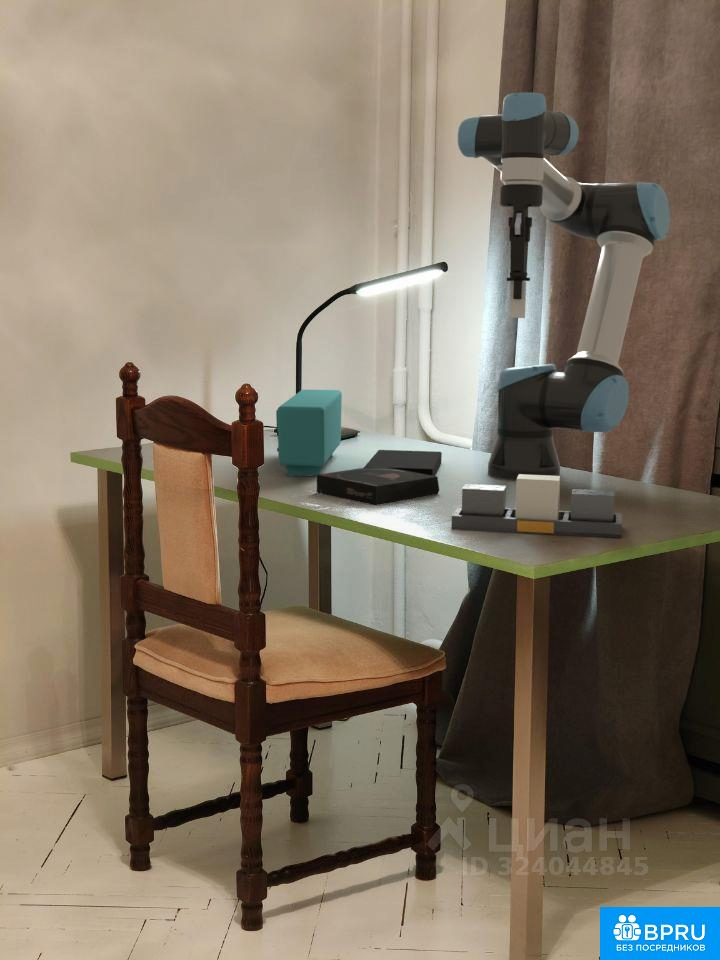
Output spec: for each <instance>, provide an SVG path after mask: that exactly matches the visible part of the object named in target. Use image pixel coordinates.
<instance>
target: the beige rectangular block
mask: <svg viewBox="0 0 720 960" xmlns="http://www.w3.org/2000/svg"><path fill="white" fill-rule="evenodd" d="M515 488H516V489H515V508H516V512H515V518H529V519H548V520H559V511H560V497H561V496H560V493H561V491H560V490H561V475H560V476H548V475H526V474H519V475H518V477H517V480H516V487H515Z"/></svg>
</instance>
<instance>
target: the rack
mask: <svg viewBox="0 0 720 960" xmlns="http://www.w3.org/2000/svg"><path fill="white" fill-rule="evenodd" d="M461 491H462V492H461V505H457V507H456V509H455V510H454V512H453V513H452V514H451V530H457V529H460V530H461V531H463V530H464V531H476V532H477V531H479V532H495V533H496V532H498V533H500V532H501V533H513V534H514V533H515V534H536V535H537V534H539V535H550V536H551V535H554V536H573V537H590V538H592V537H593V538H606V539H607V538H608V539H609V538H611V539H622V535H623V533H622V531H623V514H622V513H619V512H617V513H616V512H615V496H616V495H615V494H616V493H615V490H604V489H586V488H585V489H581V488H572V489H571V497H570V499H571V500H570V501H571V502H570V510H559V520H548V519H529V518H515V512H516V507H514V508H513V507H506V505H507V502H506V500H507V499H506V498H507V485H499V484H497V485H496V484H495V485H494V484H474V483H465V484H464V485H463V487H462V490H461Z"/></svg>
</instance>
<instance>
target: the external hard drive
mask: <svg viewBox="0 0 720 960" xmlns="http://www.w3.org/2000/svg"><path fill="white" fill-rule="evenodd" d="M442 455H443V454H442V451H432V450H431V451H427V450H403V449H401V450H397V449H395V450H394V449H378V450H377V452H375V454H374V455H373V456H372V457H371V458H370V459H369V460H368V462H367V463H366V464H365V465H364V467H363V468H366V467H373V466H382V467H388V468H393V469H399V470H404V471H410V472H415V473H421V474H426V475H432V476H436V475H437V473H438V471H439V470H440V468H441V465H442V459H443V458H442Z"/></svg>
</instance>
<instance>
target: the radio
mask: <svg viewBox="0 0 720 960" xmlns="http://www.w3.org/2000/svg"><path fill="white" fill-rule="evenodd" d="M342 397H343V396H342V391H341V390H338V389H337V390H336V389H301V390H300V391H298V392H297V393H296V394H295V395H293V396H292V397H290V398H289V399H287V400H286V401H285V402H284V403H282V404H281V405H279V406H278V408H277V410H276V411H275V412H276V414H275V415H276V419H275V420H276V430H277V438H278V439H277V440H278V441H277V443H278V445H277V449H276V450H277V451H276V452H278V464H279V465H280V466H285V467H286V472H287V476H288V475H318V474H320V470H321V468H322V467H323V466H324V465H325V464H326V463H327V462H328V460H329V459H330V458H332V457H333V454H334V452H335V451H336V450H337V448H338V447H339V446H340V444H341V442H342V439H341V438H342V437H341V436H342Z"/></svg>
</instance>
